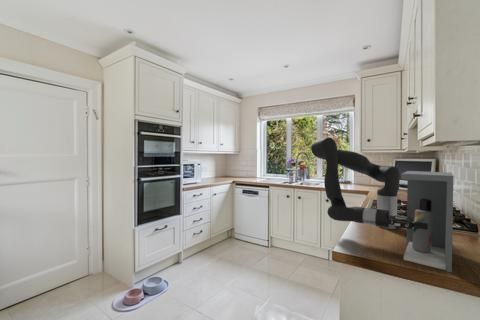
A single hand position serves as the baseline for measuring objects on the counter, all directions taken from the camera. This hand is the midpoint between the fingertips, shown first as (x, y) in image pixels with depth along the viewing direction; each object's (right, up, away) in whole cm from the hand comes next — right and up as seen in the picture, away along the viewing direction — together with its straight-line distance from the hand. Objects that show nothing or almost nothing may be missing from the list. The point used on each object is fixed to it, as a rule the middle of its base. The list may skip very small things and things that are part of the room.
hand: (427, 225), depth 87 cm
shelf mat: (-1, -12, 0) cm, 12 cm away
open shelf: (0, -12, +1) cm, 12 cm away
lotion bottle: (-1, -10, +2) cm, 10 cm away
